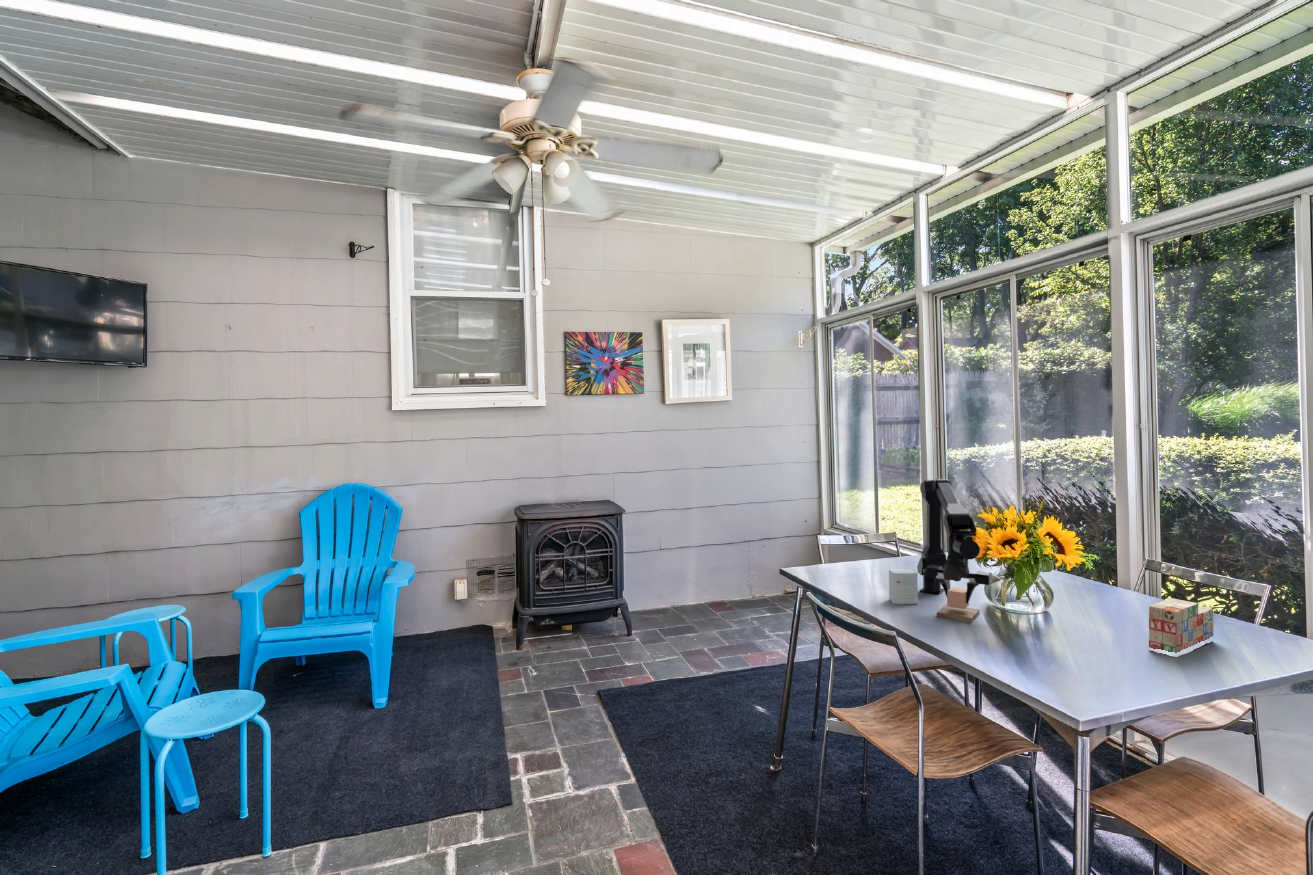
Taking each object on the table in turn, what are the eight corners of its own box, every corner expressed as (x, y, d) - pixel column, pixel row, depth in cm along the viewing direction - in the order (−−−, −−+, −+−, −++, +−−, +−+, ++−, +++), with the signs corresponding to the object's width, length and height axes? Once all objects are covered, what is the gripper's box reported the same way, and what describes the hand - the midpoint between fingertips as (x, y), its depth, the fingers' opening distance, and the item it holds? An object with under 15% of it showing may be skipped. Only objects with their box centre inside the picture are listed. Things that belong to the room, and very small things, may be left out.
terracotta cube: (951, 602, 206) (951, 586, 205) (968, 605, 202) (968, 589, 202) (947, 606, 202) (947, 590, 201) (964, 609, 198) (964, 593, 198)
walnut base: (945, 610, 209) (945, 604, 209) (979, 615, 203) (979, 609, 203) (936, 618, 201) (936, 612, 201) (971, 624, 195) (971, 618, 195)
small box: (913, 599, 220) (912, 568, 220) (918, 604, 214) (917, 572, 214) (888, 599, 221) (888, 568, 220) (893, 604, 215) (892, 572, 215)
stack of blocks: (1185, 635, 181) (1186, 592, 180) (1213, 642, 175) (1214, 597, 175) (1148, 651, 170) (1148, 604, 170) (1176, 658, 165) (1177, 611, 164)
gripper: (918, 553, 201) (919, 603, 202) (984, 560, 189) (984, 613, 190) (929, 546, 210) (929, 594, 210) (993, 553, 198) (993, 604, 199)
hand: (958, 601), depth 202 cm, fingers closed on terracotta cube, 5 cm apart
